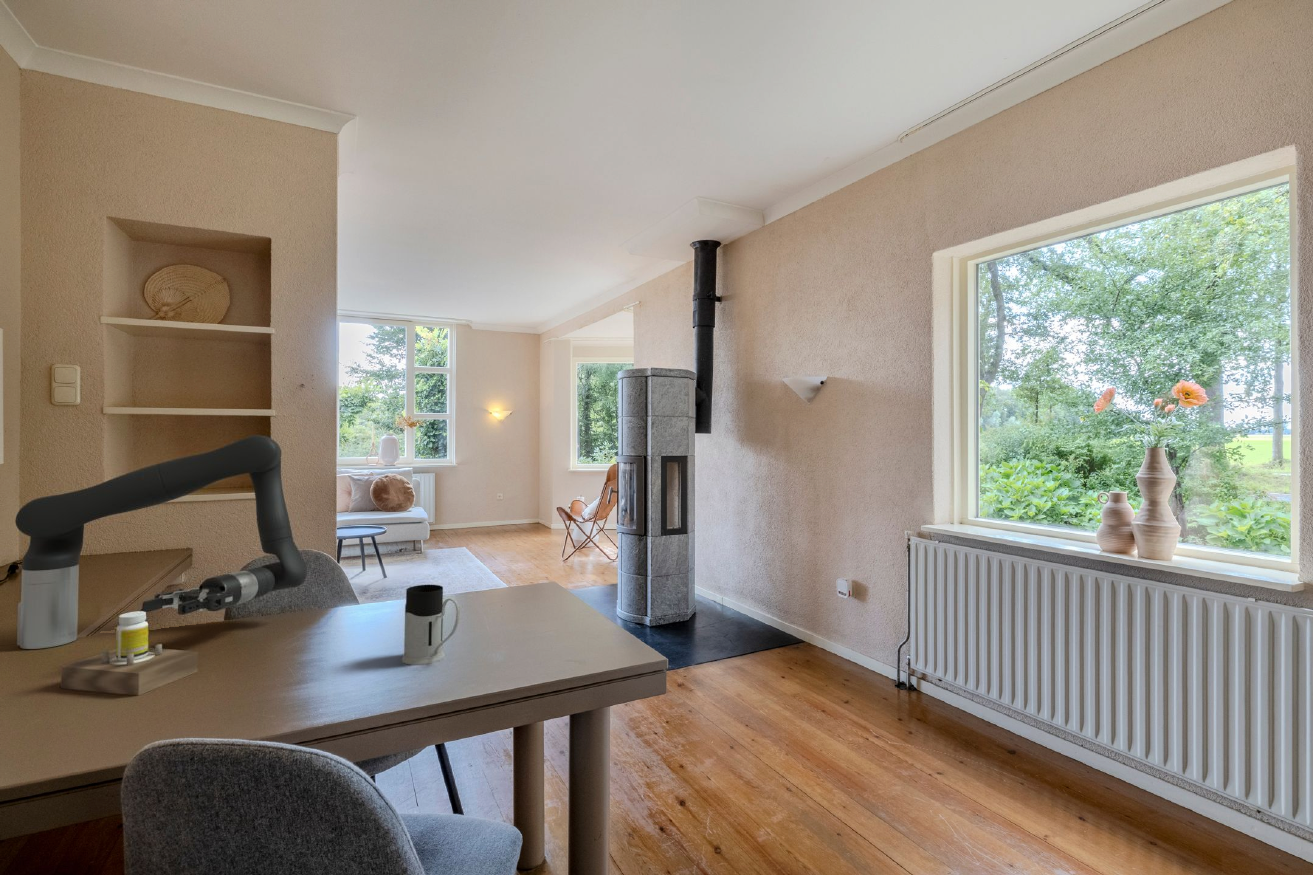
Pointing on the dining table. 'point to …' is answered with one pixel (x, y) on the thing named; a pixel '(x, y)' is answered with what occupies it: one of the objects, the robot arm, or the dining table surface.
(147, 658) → the seat block
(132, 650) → the supplement bottle
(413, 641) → the glass holder
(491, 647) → the dining table surface
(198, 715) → the dining table surface
